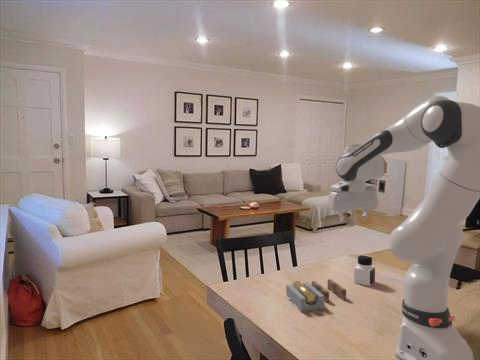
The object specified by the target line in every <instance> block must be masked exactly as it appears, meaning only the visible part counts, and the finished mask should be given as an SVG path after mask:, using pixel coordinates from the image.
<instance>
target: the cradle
mask: <svg viewBox="0 0 480 360" xmlns="http://www.w3.org/2000/svg"><path fill="white" fill-rule="evenodd" d="M302 284H303V285H304V286H305V287H306V288H308V289H309V290H310V291H311V292H312V293H314V294H315V295H316V296H317V302H316V303H315V304H313V305H310V304H309V303H308V302H306V298H305V297H304V296H303V295H302V294H301V293H300V292H299V291H297V290H296V289H295V288H294V287H293V286H292V285H293V284H286V285H285V288H286V289H285V294H286V295H287V296H288V297H289V298H290V299H291V301H292V302H293V303H294V304H295V305H296V306H297V307H298V309H299V310H300V311H305V312H309V311H308V310H313V311H318V310H317V309H320V310H325V301H324V295H323V294H321V293H320V292H319V291H318V290H316V289H315V288H314V287H313V286H312V284H310V283H309V282H303V283H302ZM291 301H290V302H291ZM292 302H291V303H292ZM293 303H292V304H293ZM294 304H293V305H294ZM295 305H294V306H295ZM298 309H297V310H298ZM299 310H298V311H299ZM300 311H299V312H300Z"/></svg>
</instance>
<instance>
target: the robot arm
mask: <svg viewBox="0 0 480 360" xmlns="http://www.w3.org/2000/svg"><path fill="white" fill-rule="evenodd" d="M432 142H433V143H434V144H435V146H437V147H438V148H439V149H444V148H445V149H446V148H447V151H448V152H447V158H446V159H445V162H444V164H443V166H441V169H440V170H439V173H438V174H437V176H436V178H435V179H434V181H433V183H432V185H431V187H430V188H429V190H428V192H427V193H426V195H425V196H424V198H423V199H422V200H421V201H420V203H418V205H417V206H416V207H415V209H413V211H412V212H411V213H410V214H409V215H408V217H406V219H405V220H404V221H403V222H402V223H401V224H400V225H399V226H397V227H396V228H394V229H393V230H392V231H391V232H390V235H389V239H388V240H389V242H388V243H389V247H390V251H392V253H393V255H394V256H395V257H396V258H398V259H399V260H400V261H403V262H406V263H407V262H408V263H409V262H411V264H410V266H409V268H408V269H407V271H406V273H405V275H404V288H403V289H404V291H403V299H402V301H401V302H402V304H401V313H402V319H401V322H400V327H399V328H400V329H399V335H398V340H397V343H396V348H395V350H394V351H395V352H394V356H396V357H397V358H399V359H401V360H474V353H473V350H472V348H471V347H470V345H469V344H468V341H467V340H466V339H465V338H463V337H462V335H461V334H460V333H459V332H458V330H457V329H456V327H454V325H453V322H454V321H456V319H455V318H456V316H455V315H453V316H451V313H450V310H449V307H448V294H449V292H448V291H449V281H450V276H451V273H452V269H453V267H454V264H455V260H456V256H457V253H458V250H459V249H460V247H461V246H462V244H463V243H464V238H465V235H464V234H465V233H464V230H463V227H461V225H460V223H462V222H463V221H464V220H465V219H467V218H468V217H469V216H470V214H471V212H472V211H473V209H474V208H475V206H476V204H477V203H478V202H479V200H480V106H479V105H475V104H473V103H469V102H463V101H454V100H451V99H449V98H448V97H446V96H442V95H435V96H432V97H430V98H428V99H426V100H425V101H423V102H421V103H419V105H417V106H415V107H413V109H411V110H410V111H409V112H408V113H406V114H405V115H404V116H403V117H402V118H400V119H399V120H398V121H396V122H394V123H393V124H392V125H390V126H389V127H387V128H385V129H384V130H381V131H380V132H379V133H376V134H375V135H373V136H372V137H370V138H369V139H367V140H366V141H365V142H363V143H362V144H352V145H348V146H346V147H345V148H344V150H343V153H342V154H341V155H340V156H339V157H338V159H337V160H336V164H335V171H336V174H337V175H338V177H339V178H341V180H342V181H339V182H337V183H334V184H331V186H330V193H329V196H328V208H329V210H331V211H334V212H337V215H338V217H339V221H340V222H341V223H342V222H343V223H344V222H346V216H344V215H343V214H344V211H353V210H354V211H355V210H356V211H357V210H362V211H363V214H361V215H360V220H361V221H367V216H368V215H369V213H370V210H373V209H375V210H376V209H377V208H378V206H379V202H378V191H377V190H378V189H377V188H376V187H375V186H374V185H367V184H366V183H367V182H366V181H368V180H377V179H381V178H382V177H383V176H384V175H385V173H386V169H387V163H386V160H385V158H384V157H383V155H387V154H393V153H394V154H395V153H405V152H412V151H416V150H419V149H421V148H423V147H425V146H427V145H428V144H430V143H432Z"/></svg>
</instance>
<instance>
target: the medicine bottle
mask: <svg viewBox="0 0 480 360" xmlns="http://www.w3.org/2000/svg"><path fill="white" fill-rule="evenodd" d="M353 271H354V273H353V280H354V281H353V283H354V284H358V285H361V286H366V287H371V286H372V285H373V284H374V283H375V282H376V266H374V265H373V258H372V256H370V255H367V254H361V255H359V256H357V265H355V267H354V270H353Z"/></svg>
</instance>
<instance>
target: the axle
mask: <svg viewBox="0 0 480 360" xmlns="http://www.w3.org/2000/svg"><path fill="white" fill-rule="evenodd" d="M291 285H292V286H293V287H294V288H295V289H296V290H297V291H299V292H300V293H301V294H302V295H303V296H304V297H305V298H306V302H308V303H309V304H310V305H313V304H315V303H316V302H317V296H316V295H315V294H314V293H312V292H311V291H310V290H309V289H308V288H306V287H305V286H304V285H303V283H302V282H301V281H299V280H296V281H294V282H292V284H291Z"/></svg>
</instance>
